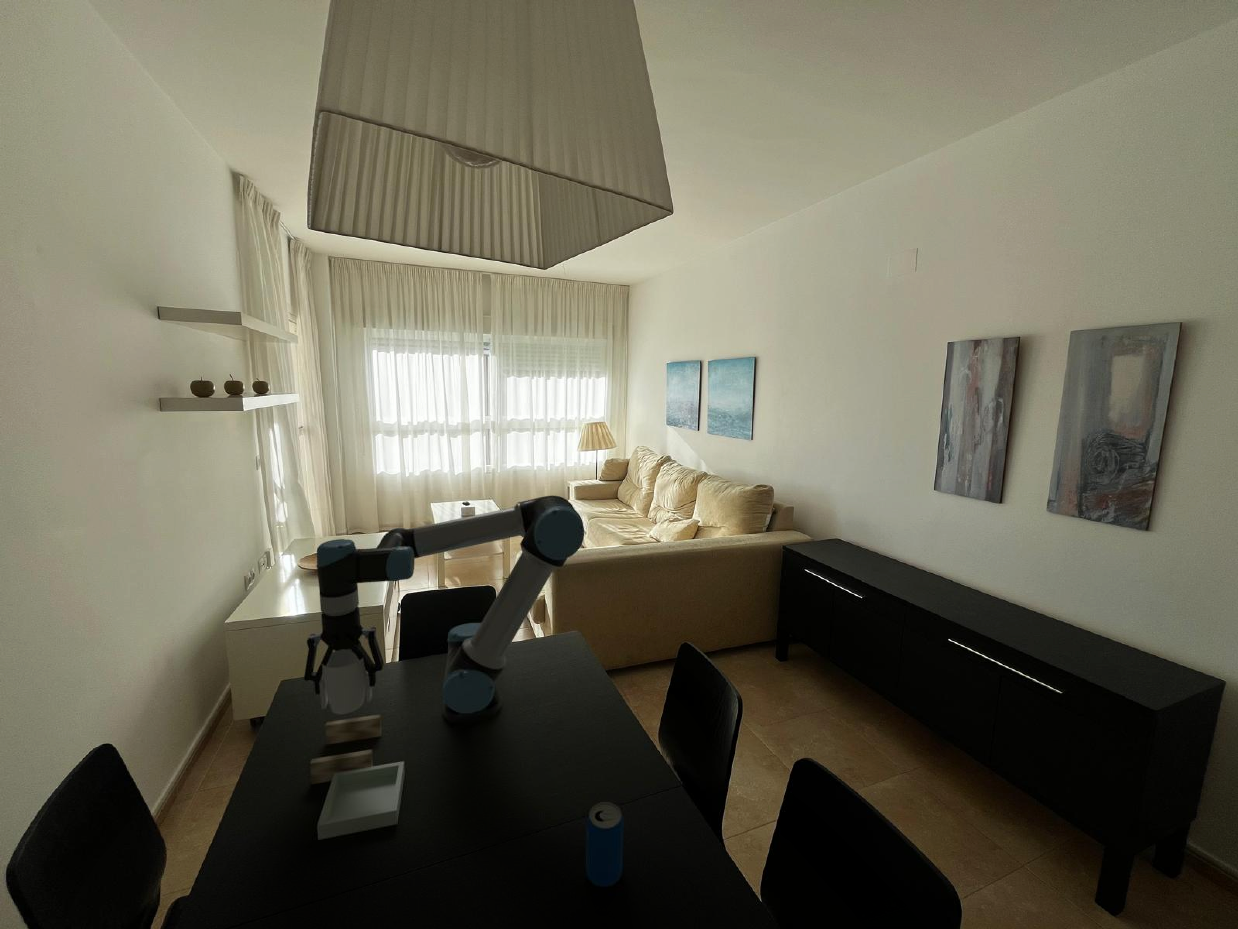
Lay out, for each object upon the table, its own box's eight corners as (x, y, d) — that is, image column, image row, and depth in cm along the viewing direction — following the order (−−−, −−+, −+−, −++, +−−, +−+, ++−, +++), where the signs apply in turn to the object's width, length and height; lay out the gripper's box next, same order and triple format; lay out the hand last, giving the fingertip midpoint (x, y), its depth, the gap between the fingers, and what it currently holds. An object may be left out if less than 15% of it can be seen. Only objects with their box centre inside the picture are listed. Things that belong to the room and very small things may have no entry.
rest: (381, 732, 130) (380, 714, 129) (371, 774, 116) (370, 753, 115) (327, 741, 126) (326, 722, 125) (311, 784, 113) (310, 763, 112)
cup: (351, 720, 114) (347, 670, 112) (315, 715, 116) (311, 665, 114) (377, 696, 123) (374, 649, 121) (344, 692, 125) (341, 645, 123)
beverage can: (585, 858, 97) (586, 801, 95) (620, 856, 97) (621, 799, 95) (586, 891, 90) (587, 830, 88) (623, 889, 91) (625, 829, 89)
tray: (404, 773, 116) (404, 761, 116) (397, 824, 103) (396, 810, 103) (335, 786, 112) (334, 773, 112) (318, 840, 99) (317, 825, 99)
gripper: (394, 597, 122) (399, 685, 126) (291, 607, 116) (299, 700, 120) (389, 610, 115) (395, 704, 119) (280, 622, 109) (289, 720, 113)
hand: (347, 702), depth 119 cm, fingers closed on cup, 9 cm apart
